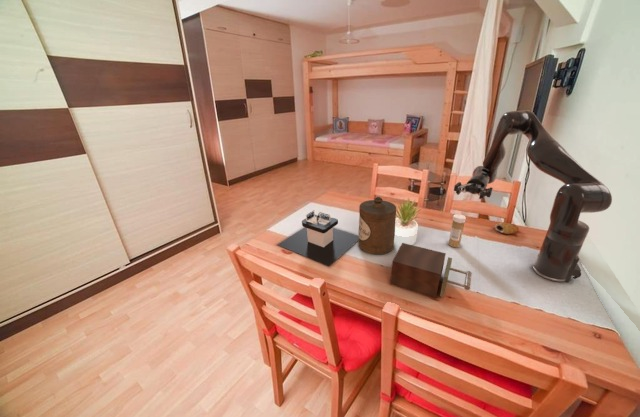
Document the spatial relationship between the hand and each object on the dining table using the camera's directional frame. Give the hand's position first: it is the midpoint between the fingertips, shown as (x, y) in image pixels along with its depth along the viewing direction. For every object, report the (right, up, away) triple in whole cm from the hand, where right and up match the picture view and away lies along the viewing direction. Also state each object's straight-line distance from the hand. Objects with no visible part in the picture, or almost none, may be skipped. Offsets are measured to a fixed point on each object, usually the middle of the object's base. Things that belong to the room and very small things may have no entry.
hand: (469, 194), depth 110 cm
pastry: (+22, -16, +9) cm, 29 cm away
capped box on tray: (-63, -21, +7) cm, 66 cm away
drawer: (-24, -31, -22) cm, 45 cm away
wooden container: (-39, -22, +2) cm, 45 cm away
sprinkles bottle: (-6, -21, 0) cm, 22 cm away
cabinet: (-29, -31, -19) cm, 47 cm away
